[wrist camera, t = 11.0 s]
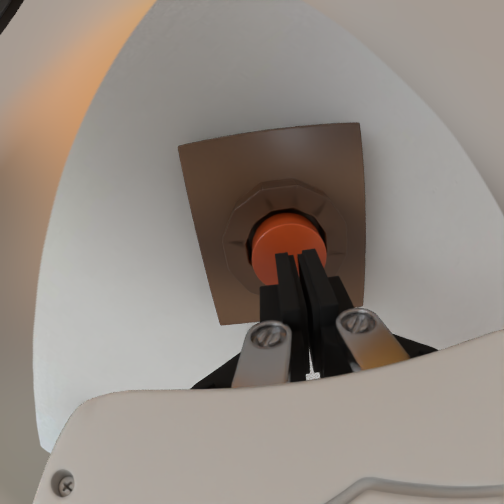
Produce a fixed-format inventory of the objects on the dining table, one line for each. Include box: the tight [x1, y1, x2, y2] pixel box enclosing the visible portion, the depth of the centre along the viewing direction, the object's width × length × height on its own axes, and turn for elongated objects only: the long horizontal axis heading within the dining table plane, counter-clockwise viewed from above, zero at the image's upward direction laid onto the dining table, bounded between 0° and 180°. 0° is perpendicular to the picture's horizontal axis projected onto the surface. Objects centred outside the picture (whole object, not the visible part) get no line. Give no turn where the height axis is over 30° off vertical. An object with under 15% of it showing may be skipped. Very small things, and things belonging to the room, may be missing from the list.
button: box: [252, 213, 327, 285], centre depth 14 cm, size 4×4×2 cm
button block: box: [178, 123, 366, 325], centre depth 16 cm, size 12×10×4 cm
